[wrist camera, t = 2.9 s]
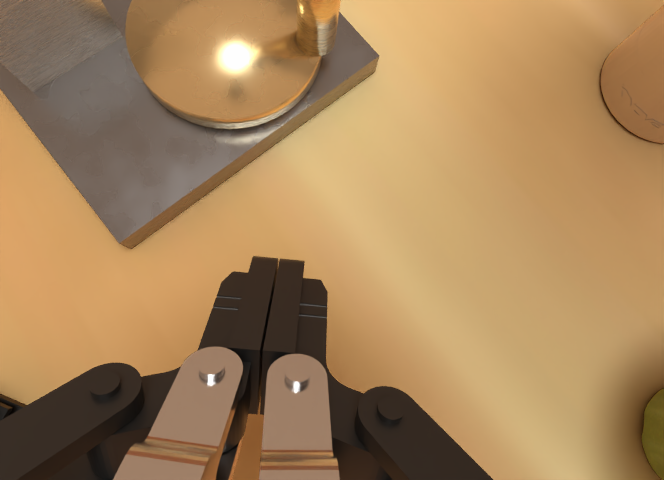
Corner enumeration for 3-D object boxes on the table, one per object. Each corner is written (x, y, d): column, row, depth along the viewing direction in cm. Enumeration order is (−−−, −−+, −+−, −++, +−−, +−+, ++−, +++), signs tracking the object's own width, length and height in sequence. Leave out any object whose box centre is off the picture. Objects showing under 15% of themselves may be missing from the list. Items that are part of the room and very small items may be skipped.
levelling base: (215, -104, 36) (185, -266, 26) (374, 71, 34) (405, -35, 24) (-32, 38, 32) (-178, -92, 22) (130, 249, 30) (48, 208, 20)
